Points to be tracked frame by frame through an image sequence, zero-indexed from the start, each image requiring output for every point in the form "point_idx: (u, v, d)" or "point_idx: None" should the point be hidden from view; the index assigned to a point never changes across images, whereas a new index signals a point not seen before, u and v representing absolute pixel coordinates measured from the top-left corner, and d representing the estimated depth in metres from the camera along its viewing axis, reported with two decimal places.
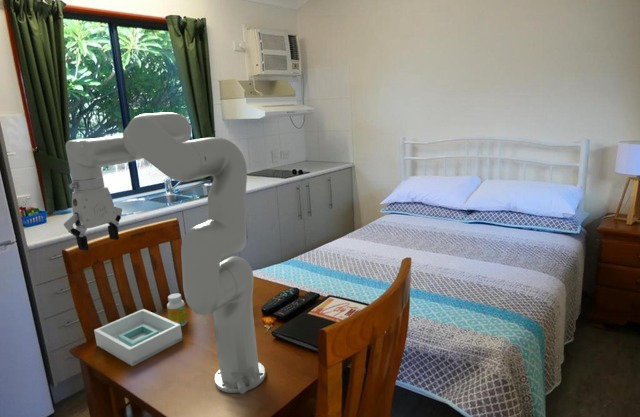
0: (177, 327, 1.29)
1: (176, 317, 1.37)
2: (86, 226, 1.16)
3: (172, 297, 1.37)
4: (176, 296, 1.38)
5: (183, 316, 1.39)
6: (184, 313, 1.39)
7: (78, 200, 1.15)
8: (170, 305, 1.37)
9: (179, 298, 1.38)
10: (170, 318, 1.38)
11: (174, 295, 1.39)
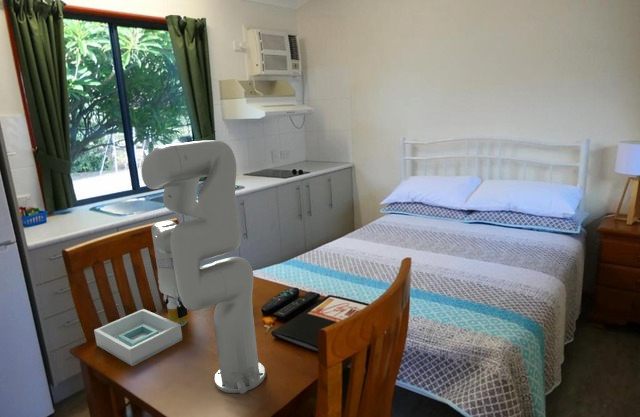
0: (177, 327, 1.29)
1: (176, 317, 1.37)
2: None
3: (172, 297, 1.37)
4: None
5: None
6: None
7: None
8: (170, 305, 1.37)
9: (179, 298, 1.38)
10: (170, 318, 1.38)
11: None
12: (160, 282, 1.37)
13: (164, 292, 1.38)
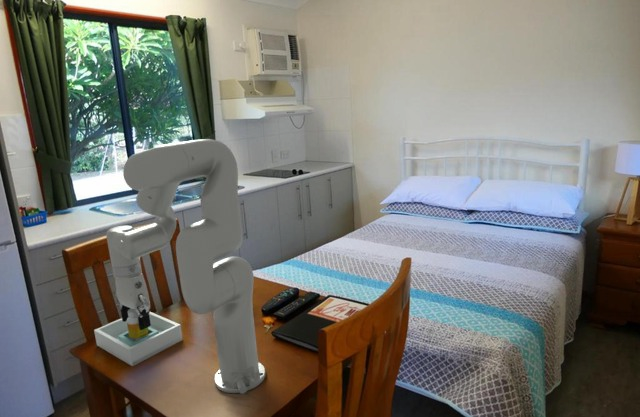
0: (177, 327, 1.29)
1: (136, 333, 1.27)
2: (149, 302, 1.26)
3: (132, 311, 1.27)
4: None
5: (144, 331, 1.28)
6: (145, 328, 1.29)
7: (142, 281, 1.24)
8: (130, 320, 1.26)
9: None
10: (130, 334, 1.27)
11: None
12: (118, 292, 1.27)
13: (122, 303, 1.27)
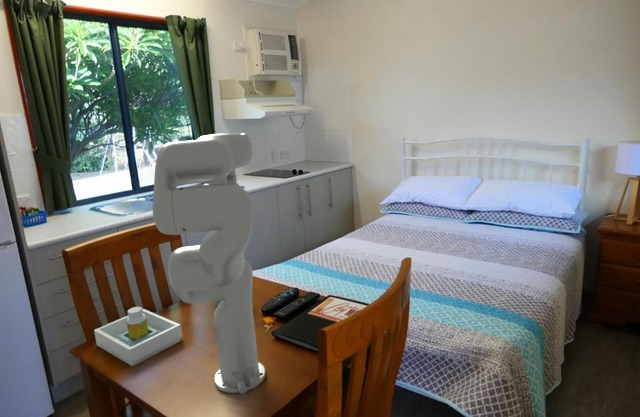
0: (177, 327, 1.29)
1: (136, 333, 1.27)
2: None
3: (132, 311, 1.27)
4: (136, 310, 1.27)
5: (144, 331, 1.28)
6: (145, 328, 1.29)
7: None
8: (129, 320, 1.26)
9: (139, 312, 1.27)
10: (130, 334, 1.27)
11: (134, 309, 1.28)
12: None
13: None
